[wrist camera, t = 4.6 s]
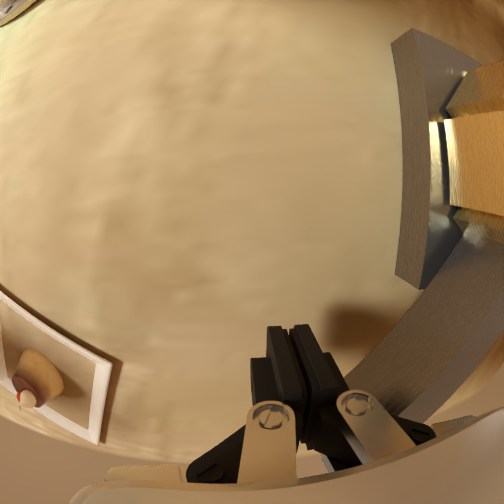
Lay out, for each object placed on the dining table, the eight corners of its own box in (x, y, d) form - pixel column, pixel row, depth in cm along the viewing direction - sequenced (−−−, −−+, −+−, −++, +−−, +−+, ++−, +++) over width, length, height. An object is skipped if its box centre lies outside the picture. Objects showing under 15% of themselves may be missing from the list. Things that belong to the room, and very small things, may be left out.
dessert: (3, 375, 15) (-20, 401, 11) (-6, 273, 13) (-46, 296, 8) (101, 438, 17) (87, 475, 13) (118, 353, 15) (91, 403, 10)
